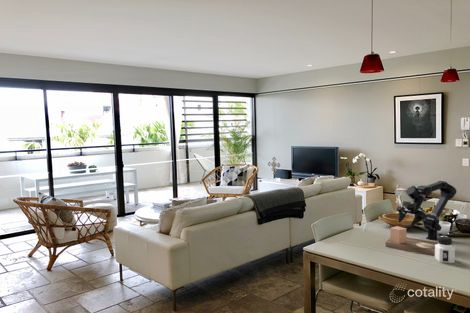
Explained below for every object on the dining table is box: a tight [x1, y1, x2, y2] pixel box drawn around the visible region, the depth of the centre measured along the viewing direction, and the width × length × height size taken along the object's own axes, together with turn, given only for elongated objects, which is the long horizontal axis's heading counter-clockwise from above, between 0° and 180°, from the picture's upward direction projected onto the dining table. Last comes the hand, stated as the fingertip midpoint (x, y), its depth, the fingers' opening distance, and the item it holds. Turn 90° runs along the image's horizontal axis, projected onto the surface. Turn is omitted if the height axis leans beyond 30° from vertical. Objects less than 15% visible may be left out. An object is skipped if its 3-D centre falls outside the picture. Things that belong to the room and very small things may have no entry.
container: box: [434, 235, 456, 264], centre depth 201 cm, size 8×8×13 cm
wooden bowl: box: [378, 212, 423, 230], centre depth 270 cm, size 30×24×8 cm
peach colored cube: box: [389, 226, 407, 244], centre depth 226 cm, size 6×6×8 cm
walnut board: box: [385, 236, 438, 257], centre depth 224 cm, size 18×28×5 cm, turn 50°
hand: (405, 223), depth 229 cm, fingers open, 9 cm apart
